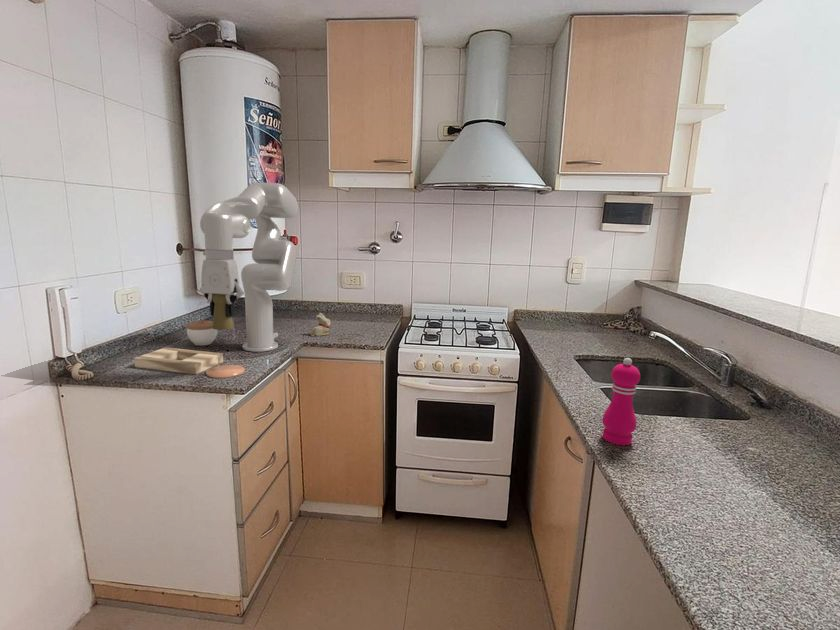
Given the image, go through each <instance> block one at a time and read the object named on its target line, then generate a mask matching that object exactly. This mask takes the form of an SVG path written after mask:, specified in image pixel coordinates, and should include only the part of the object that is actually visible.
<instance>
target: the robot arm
mask: <svg viewBox="0 0 840 630" xmlns="http://www.w3.org/2000/svg"><path fill="white" fill-rule="evenodd" d="M298 212H299V204H298V200H297V199H296V197H295V195H293V193H292V192H291V191H290V190H289V189H288V188H287V187H286V186H285V185H284V184H281V183H278V182H260V181H259V182H253V183H251V184H249V185H248V186H247V187H246V188H245V189H243V191H242V192H241V193H240V194H238V196H235V197H232V198H229V199H225V200H224V201H220V202H217V203H215V204H213V205H211V206H210V207H208V209H206V210H205V212H204V213H203V214H202V216H201V218H200V221H199V226H200V229H201V232H202V233H203V234H204V246H205V249H204V250H203V251H202V255H203V256H205V259H203V261H202V265H201V276H200V277H201V280H200V281H201V282H200V283H201V286H200V288H199V293H200V294H201V295H203V297H204V298H205V299H206V300H207V303H209V309H210V310H209V311H210V312H209V313H210V316H211V317H213V316H214V305H215V303H214V302H213V300H212V296H213V294H222V295H225V296H226V300H227V304H226V317H231V316H232V317H234V316H235V312H236V311H235V304H236V303H237V301H238V300H239V299H240V298H242V297H243V296H244V303H245V307H244V308H245V327H246V342H245V343H243V344H242V350H244V351H247V352H253V353H254V352H257V353H258V352H267V351H268V352H269V351H273V350H276V349H277V348H278V347H279V342H276V341H275V339H276V338H278V336H279V333H278V332H276V331H275V332H274V315H273V314H274V311H273V307H274V306H273V305H274V304H273V300H272V297H271V296H270V294H269V292H268V291H278V292H279V291H282V292H283V291H286V290H288V289H289V288H290V286H291V284H292V280H293V274H294V270H295V265H296V260H297V248H296V245H295V244H294V242H292V241H291V240H285V239H280V238H281V235H282V234H281V229H280V228H279V227H278V225H277V224H276V223H275V221H273V218H274V219H293V218H295V217H296V216H297V215H298ZM253 219H255V224H256V229H257V232H256V235H255V239H254V244H253V246H252V251H251V258H252V260H253V262H254V263H249V264H246V265H244V266H243V268H242V269H241V271H240V276H239V270H238V266H237V262H236V260H234V259H235V258H234V239H243V238H245V237H247V236H248V235H249V234H250V233H251V226H252V225H251V223H250V222H251V221H250V220H253ZM239 278H241V283H242V287H243V289H242V288H241V286H240V279H239Z"/></svg>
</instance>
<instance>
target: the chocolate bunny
mask: <svg viewBox="0 0 840 630" xmlns="http://www.w3.org/2000/svg"><path fill="white" fill-rule="evenodd" d="M315 319H316V320H317V322H318V325H315V326H314V327H313V328H312V330H311V332H310V333H309V336H310V335H325V334H329V331H330V329H331V328H330V327H331V325H332V324H331V319H329V318H326V316H325V315H324V314H323V313H321V312H319V313H318V314H317V315H315Z"/></svg>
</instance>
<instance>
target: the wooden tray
mask: <svg viewBox="0 0 840 630" xmlns="http://www.w3.org/2000/svg"><path fill="white" fill-rule="evenodd" d="M133 361H134V367H135V368H140V369H147V370H148V369H149V370H156V371H166V372H173V373H182V374H189V375H190V374H192V375H198V374H200V373H203V372H204V371H207V370H208V369H210V368H213V367H216V366H219V364H222V363H224V355H223V353H222V352H212V351H202V350H192V349H183V348H174V347H163V348H160V349H157V350H153V351H150V352H148V353H145V354H141V355H140V356H139V355H138V356H136V357H134V358H133Z"/></svg>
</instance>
